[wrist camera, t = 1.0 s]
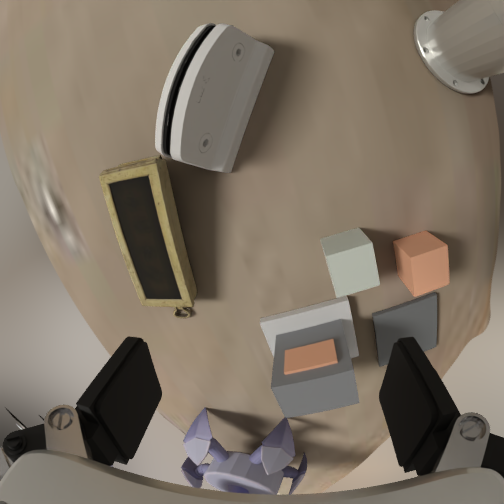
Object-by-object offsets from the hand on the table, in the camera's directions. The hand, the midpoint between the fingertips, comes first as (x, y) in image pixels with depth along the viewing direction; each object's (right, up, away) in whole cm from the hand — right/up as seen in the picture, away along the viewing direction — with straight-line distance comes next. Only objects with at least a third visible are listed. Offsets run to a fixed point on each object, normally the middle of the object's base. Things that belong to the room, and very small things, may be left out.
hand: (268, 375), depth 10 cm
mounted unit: (+8, -7, +29) cm, 31 cm away
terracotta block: (+20, +4, +23) cm, 31 cm away
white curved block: (-4, +22, +20) cm, 30 cm away
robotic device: (-1, -36, +40) cm, 54 cm away
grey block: (+11, +4, +24) cm, 27 cm away
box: (-12, +6, +27) cm, 30 cm away
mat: (+22, -7, +27) cm, 35 cm away
